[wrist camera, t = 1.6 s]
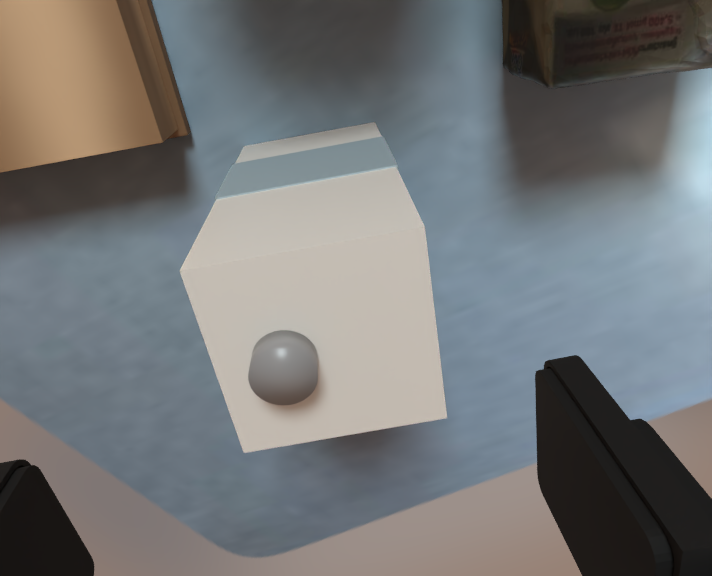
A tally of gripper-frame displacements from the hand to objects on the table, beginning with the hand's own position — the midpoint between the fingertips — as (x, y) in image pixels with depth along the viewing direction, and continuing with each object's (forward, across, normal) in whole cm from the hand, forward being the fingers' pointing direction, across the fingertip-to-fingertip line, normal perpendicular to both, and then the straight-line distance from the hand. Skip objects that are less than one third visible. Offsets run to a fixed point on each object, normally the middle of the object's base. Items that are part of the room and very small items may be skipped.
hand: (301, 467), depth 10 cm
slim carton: (+16, -1, 0) cm, 16 cm away
